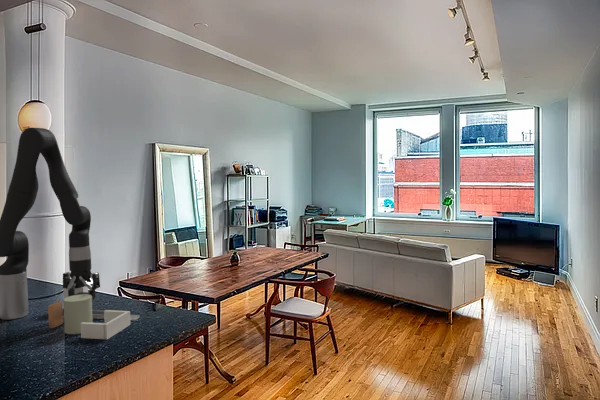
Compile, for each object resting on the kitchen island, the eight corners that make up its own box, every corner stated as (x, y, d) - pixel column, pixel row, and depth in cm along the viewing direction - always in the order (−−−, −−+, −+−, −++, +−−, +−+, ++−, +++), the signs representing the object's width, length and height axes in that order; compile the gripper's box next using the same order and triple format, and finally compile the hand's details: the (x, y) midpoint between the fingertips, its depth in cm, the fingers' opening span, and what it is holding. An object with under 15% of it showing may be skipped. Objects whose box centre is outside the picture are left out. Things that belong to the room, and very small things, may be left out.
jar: (65, 313, 170) (64, 283, 170) (63, 308, 177) (62, 279, 176) (90, 309, 175) (89, 280, 174) (87, 304, 182) (86, 276, 181)
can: (99, 326, 155) (98, 294, 154) (78, 335, 146) (77, 301, 145) (79, 323, 158) (78, 292, 157) (58, 332, 149) (56, 298, 148)
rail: (72, 317, 165) (72, 315, 165) (78, 314, 168) (77, 312, 168) (135, 320, 161) (135, 318, 161) (139, 317, 164) (139, 315, 164)
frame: (81, 337, 144) (80, 323, 144) (106, 323, 158) (106, 310, 158) (107, 339, 142) (106, 324, 142) (130, 324, 157) (130, 311, 156)
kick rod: (48, 327, 151) (47, 305, 150) (81, 312, 168) (80, 292, 168) (79, 329, 149) (78, 307, 149) (109, 313, 167) (108, 293, 166)
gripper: (56, 259, 162) (58, 301, 163) (90, 260, 160) (92, 302, 160) (70, 256, 169) (72, 296, 170) (102, 256, 167) (104, 297, 168)
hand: (82, 299), depth 165 cm, fingers open, 8 cm apart
